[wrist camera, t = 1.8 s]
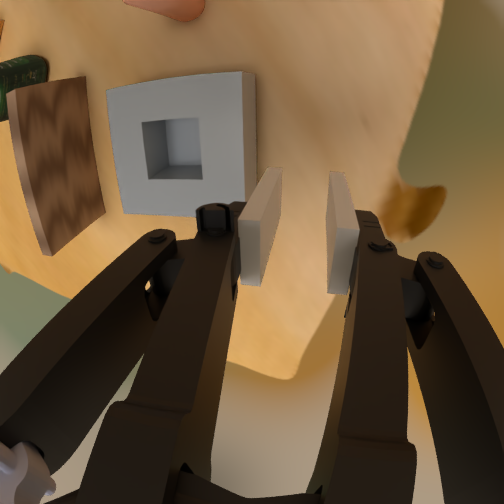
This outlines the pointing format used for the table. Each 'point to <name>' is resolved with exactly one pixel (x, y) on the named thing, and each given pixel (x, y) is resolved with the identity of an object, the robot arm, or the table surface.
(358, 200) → the table surface
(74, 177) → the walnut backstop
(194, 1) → the dowel
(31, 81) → the coffee jar
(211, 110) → the socket block
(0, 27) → the small box
